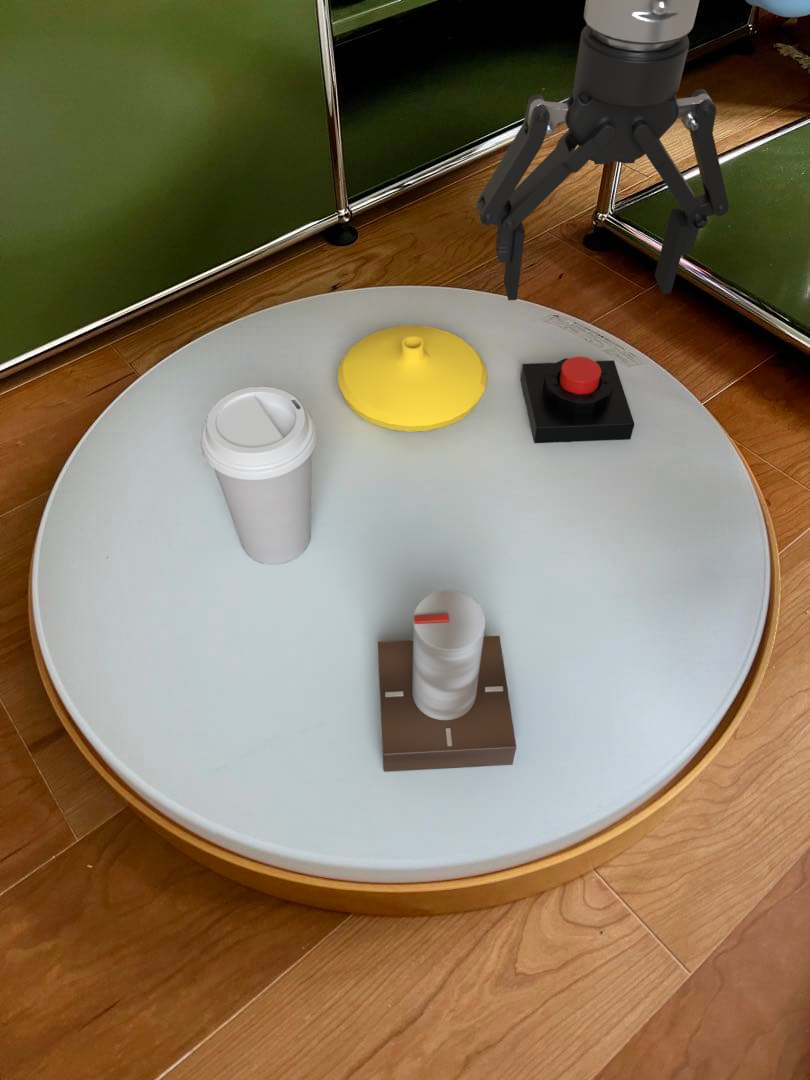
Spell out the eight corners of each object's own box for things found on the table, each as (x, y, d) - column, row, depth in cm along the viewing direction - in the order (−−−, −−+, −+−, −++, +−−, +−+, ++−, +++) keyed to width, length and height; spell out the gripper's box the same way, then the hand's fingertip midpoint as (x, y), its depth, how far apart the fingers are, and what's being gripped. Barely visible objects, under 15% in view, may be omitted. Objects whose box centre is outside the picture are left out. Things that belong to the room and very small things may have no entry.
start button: (601, 394, 91) (604, 381, 90) (562, 396, 91) (565, 382, 90) (594, 369, 94) (597, 355, 92) (556, 370, 93) (558, 357, 92)
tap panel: (512, 765, 69) (516, 746, 67) (383, 772, 69) (383, 753, 66) (496, 654, 76) (499, 634, 73) (378, 660, 75) (377, 640, 73)
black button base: (630, 439, 92) (638, 410, 89) (534, 443, 92) (538, 414, 89) (610, 375, 98) (617, 346, 95) (520, 379, 98) (524, 350, 95)
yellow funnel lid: (379, 466, 90) (377, 414, 84) (315, 375, 98) (310, 322, 93) (513, 417, 94) (520, 364, 89) (440, 333, 103) (442, 281, 98)
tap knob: (472, 662, 72) (481, 586, 64) (479, 718, 68) (489, 645, 60) (410, 666, 71) (411, 589, 63) (414, 722, 68) (416, 649, 60)
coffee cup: (331, 572, 81) (319, 455, 70) (225, 583, 80) (195, 467, 69) (323, 494, 87) (311, 375, 76) (224, 504, 86) (196, 385, 75)
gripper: (464, 57, 59) (450, 320, 76) (831, 47, 61) (738, 307, 77) (452, 11, 64) (441, 268, 80) (792, 3, 65) (712, 257, 82)
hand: (586, 288), depth 79 cm, fingers open, 13 cm apart
